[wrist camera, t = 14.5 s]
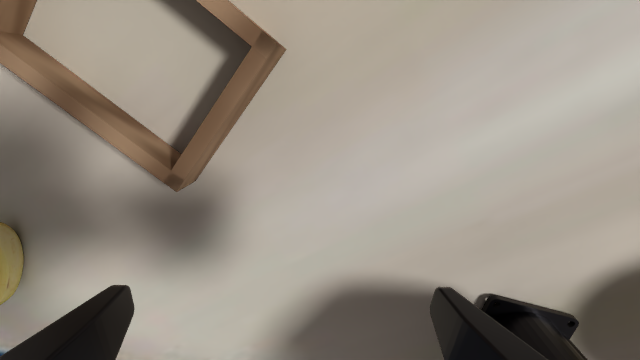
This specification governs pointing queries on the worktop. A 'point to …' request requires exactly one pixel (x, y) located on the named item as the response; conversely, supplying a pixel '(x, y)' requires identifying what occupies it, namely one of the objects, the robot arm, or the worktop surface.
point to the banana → (9, 262)
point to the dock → (116, 125)
